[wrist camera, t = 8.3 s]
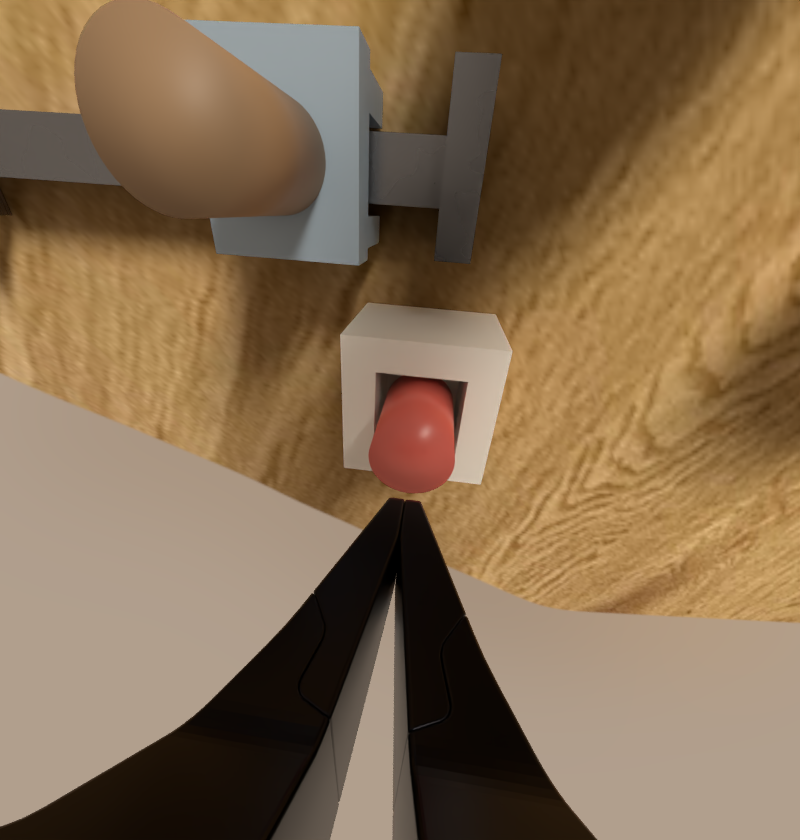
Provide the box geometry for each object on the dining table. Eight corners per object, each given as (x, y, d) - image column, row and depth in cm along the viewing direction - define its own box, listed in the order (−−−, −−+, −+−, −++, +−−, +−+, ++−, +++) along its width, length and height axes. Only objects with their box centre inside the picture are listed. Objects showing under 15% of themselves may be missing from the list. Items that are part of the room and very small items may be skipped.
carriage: (383, 77, 12) (277, -143, 5) (378, 253, 15) (308, 297, 8) (246, 70, 13) (-65, -144, 5) (267, 243, 16) (91, 277, 8)
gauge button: (457, 375, 14) (461, 428, 11) (448, 434, 15) (448, 497, 12) (388, 368, 14) (369, 418, 11) (385, 426, 16) (367, 487, 12)
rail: (487, 96, 12) (501, 53, 9) (465, 251, 15) (469, 263, 12) (-81, 67, 14) (-251, 22, 11) (-13, 213, 17) (-131, 214, 13)
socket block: (495, 314, 16) (512, 351, 12) (473, 423, 19) (480, 484, 15) (367, 302, 17) (340, 334, 12) (366, 412, 20) (343, 467, 15)
